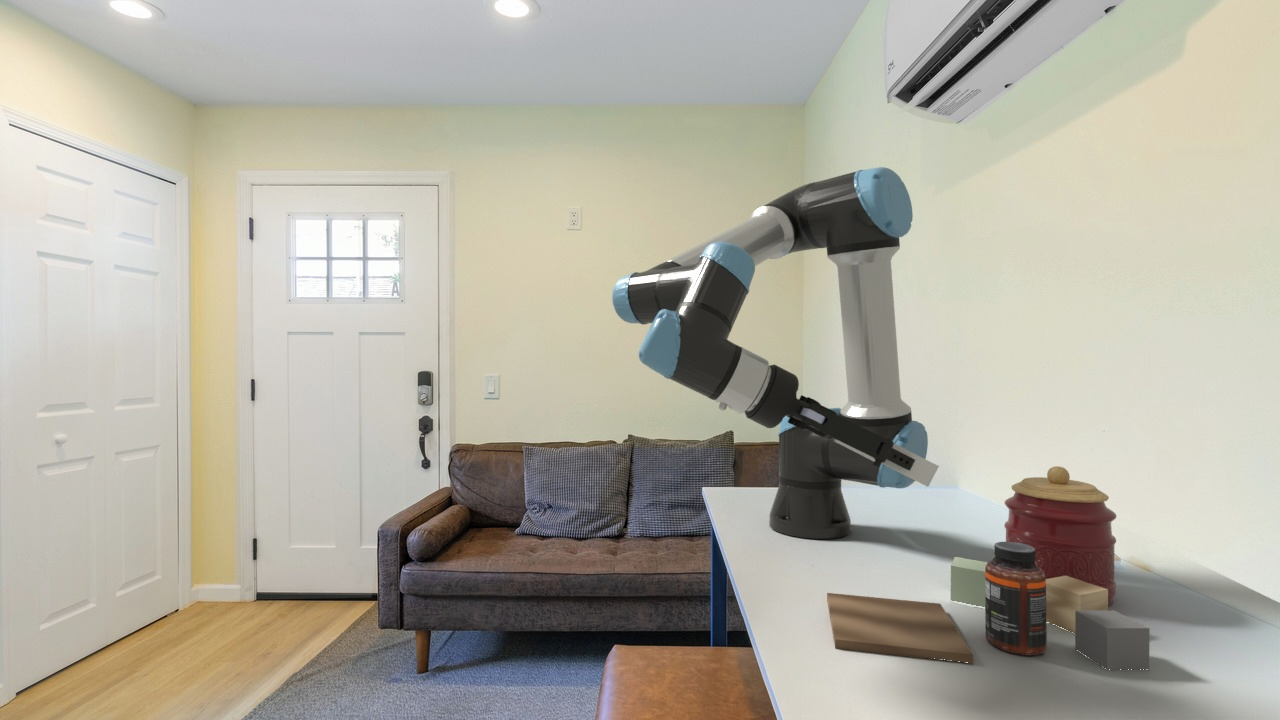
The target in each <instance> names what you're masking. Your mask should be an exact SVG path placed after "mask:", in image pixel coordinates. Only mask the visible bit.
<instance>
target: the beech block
mask: <svg viewBox="0 0 1280 720" xmlns="http://www.w3.org/2000/svg"><path fill="white" fill-rule="evenodd" d="M1075 611H1109V605H1108V589H1105V588H1102V587H1099V586H1096V585H1093V584H1090V583H1087V582H1084V581H1081V580H1078V579H1075V578H1072V577H1068V576H1061V577H1055V578H1050V579H1046V622H1049V623H1051V624H1055V625H1057V626H1059V627H1062V628H1064V629H1066V630H1068V631H1070V632H1073V633H1075ZM1051 624H1050V625H1051ZM1068 631H1067V632H1068ZM1070 632H1069V633H1070ZM1073 633H1072V634H1073Z"/></svg>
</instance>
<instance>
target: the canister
mask: <svg viewBox="0 0 1280 720" xmlns="http://www.w3.org/2000/svg"><path fill="white" fill-rule="evenodd" d="M1046 476H1047V477H1042V476H1041V477H1040V476H1039V477H1038V476H1037V477H1025V478H1023V479H1022V480H1021V481H1019V482H1016V483H1015V484H1012V485H1011V489H1012V491H1013V492H1014V494H1013V495H1012V496H1011V497H1009V498H1007V499H1005V500H1004V505H1005V507H1006V508H1007V509H1008V518H1007V521H1006V522H1004V528H1005V542H1016V543H1022V544H1026V545H1029V546H1031V547H1033V548H1034V549H1035V557H1036V560H1035V564H1036V566H1038V567H1040V568H1041V569H1042V570H1043V571H1044V573H1045V576H1046V579H1050V578H1055V577H1061V576H1068V577H1072V578H1075V579H1078V580H1081V581H1084V582H1087V583H1090V584H1093V585H1096V586H1099V587H1102V588H1105V589H1108V606H1110V605H1112V604H1113V603H1114V600H1115V599H1114V597H1115V595H1116V593H1117V590H1116V587H1117V583H1116V581H1115V548H1116V547H1115V544H1116V543H1117V538H1116V537H1115V536H1114V535H1113V533H1112V532H1113V531H1112V522H1113V521H1115V520H1116V518H1117V514H1116V512H1114V511H1113V510H1112V509H1110V508H1109V507H1107V505H1106V502H1107V501H1109V498H1110V497H1109V496H1108V494H1106V493H1104V492H1103V491H1102V490H1099V489H1098V488H1097V487H1096V486H1095V485H1094V484H1091V483H1088V482H1084V481H1080V480H1079V481H1078V480H1073V479H1070V478H1071V476H1070V472H1069V471H1068V470H1067V469H1066V468H1065V467H1063V466H1052V467H1050V468H1049V469H1048V470H1047V473H1046Z"/></svg>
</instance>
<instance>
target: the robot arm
mask: <svg viewBox="0 0 1280 720" xmlns="http://www.w3.org/2000/svg"><path fill="white" fill-rule="evenodd" d="M912 221H913V207H912V201H911V196H910V194H909V191H908V189H907V186H906V185H905V183H904V181H903V180H902V178H901V176H899V174H898V173H896V172H895V171H894V170H893V169H891V168H889V167H883V166H879V167H874V168H873V167H872V168H866V169H858V170H856V171H853V172H849V173H846V174H842V175H838V176H835V177H830V178H827V179H822V180H819V181H816V182H815V181H813V182H810V183H807V184H803V185H801V186H799V187H797V188H794V189H792V190H789V192H787V193H785V194H783V195H781V196H779V197H778V198H776V199H774V200H772V201H770V202H768V203H766V204H764V205H763V206H760V207H758V208H757V209H755V210H754V211H753V212H752V213H751V214H750V216H749V218H748V219H747V220H746V221H743V222H741V223H739V224H737V225H736V226H734V227H732V228H729V229H728V230H725V231H724V232H722V233H719V234H718V235H714V236H713V237H712V238H710V239H708V240H706V241H703V242H701V243H700V244H697V245H696V246H693V247H692V248H690V249H687V250H686V251H684V252H681V253H680V254H678V255H676V256H674V257H671V258H670V259H668V260H665V261H664V262H662V263H660V264H657V265H655V266H654V267H652V268H649V269H647V270H645V271H642V272H638V271H637V272H635V271H634V272H632V273H631V274H628V275H624V276H622V277H620V278H619V279H618V280H617V281H616V283H615V285H614V287H613V289H612V293H611V295H612V297H611V299H612V300H611V301H612V306H613V309H614V310H615V313H616V314H617V316H618V317H619V318H620V319H621V320H622V321H624V322H625V323H629V324H640V325H647V324H648V325H649V324H651V325H650V327H649V329H648V331H647V333H646V334H645V336H644V338H643V340H642V343H641V345H640V347H639V350H638V359H639V361H640V362H641V363H642V364H644V366H646V367H648V368H649V369H650V370H653V371H654V372H655V373H658V374H659V375H661V376H663V378H664V379H667V380H671V381H673V382H676V383H678V384H680V385H682V386H684V387H686V388H688V389H690V390H692V391H694V392H696V393H698V394H700V395H702V396H705V397H706V398H708V399H711V400H713V401H715V402H716V403H719V405H718V409H719V410H720V411H725V410H727V407H728V408H729V409H730V410H731V411H732V410H733V411H734V412H736V413H738V414H743V413H744V415H745V416H746V418H747V419H749V420H751V421H753V422H755V423H757V424H759V425H760V426H763V427H765V428H766V429H772V428H776V427H778V425H779V430H778V489H777V492H776V494H775V497H774V500H773V503H772V506H771V509H770V511H769V522H768V523H769V527H770V528H771V529H772V530H773V531H776V532H778V533H780V534H784V535H787V536H791V537H798V538H803V539H804V538H805V539H816V540H817V539H818V540H819V539H820V540H821V539H822V540H823V539H825V540H830V539H838V538H842V537H843V538H844V537H846V536H849V534H851V530H852V529H851V528H852V526H851V525H852V521H851V516H850V514H849V510H848V508H847V504H846V502H845V501H846V500H845V499H844V496H843V491H842V480H843V481H849V482H854V483H862V484H867V485H870V486H871V485H872V486H878V487H880V488H893V489H905V488H908V487H910V486H911V485H913V484H914V483H915V482H916V483H919V484H921V485H922V486H925V487H927V488H928V487H929V486H930V484H931V482H932V480H933V479H934V476H935V474H936V473H937V471H938V469H939V467H940V466H939V465H938V464H935V463H934V462H932V461H929V460H928V459H926V458H927V455H928V448H929V447H928V445H929V439H928V438H929V436H928V432H927V430H926V427H925V425H924V424H923V423H921V422H919V421H917V420H913V416H912V407H911V406H910V405H909V404H908V403H906V402H905V401H903V400H902V397H901V396H902V395H901V394H902V393H901V383H900V381H901V380H900V368H899V356H898V355H899V354H898V341H897V327H896V326H897V324H896V316H895V315H896V314H895V312H896V311H895V300H894V299H895V297H894V285H893V284H894V283H893V271H892V260H893V257H894V256H895V255H896V254H897V253H898V251H899V250H900V248H901V245H900V244H901V242H900V238H903V237H904V236H906V235H907V234H908V233H909V232H910V230H911V228H912ZM817 249H826V255H827V259H829V260H830V262H832V263H833V264H835V265H836V267H837V277H838V289H839V292H838V293H839V301H840V302H839V303H840V312H841V313H840V317H841V327H842V329H841V330H842V337H843V340H842V341H843V351H844V362H845V365H844V366H845V376H846V386H847V387H846V388H847V399H848V401H847V402H846V404H845V405H844V406H842V407H841V408H840V407H831V408H830V407H829V408H828V407H826V406H823V405H822V403H820V402H819V401H817V400H815V399H813V398H811V397H809V396H807V397H806V396H804V395H802V394H801V395H800V397H799V398H798V397H797V392H798V391H799V386H800V383H799V378H798V377H797V375H796V374H794V373H792V372H790V371H788V370H786V369H784V368H782V367H780V366H779V365H776V364H770V363H769V361H768V360H767V359H766V358H764V357H762V356H760V355H759V354H758V355H757V354H756V353H754V352H752V351H751V350H748V349H746V348H744V347H742V346H740V345H738V344H737V343H736V344H735V343H734V342H732V341H731V340H728V339H729V336H730V333H731V332H732V329H733V327H734V325H735V322H736V320H737V318H738V315H739V313H740V311H741V308H742V307H743V304H744V302H745V300H746V297H747V295H748V294H749V292H750V287H751V283H752V281H753V278H754V275H755V271H756V267H757V266H758V265H760V264H762V263H763V262H765V261H767V260H769V259H770V260H778V259H782V258H783V257H785V256H787V255H789V254H792V253H798V252H802V251H810V250H817Z"/></svg>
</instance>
